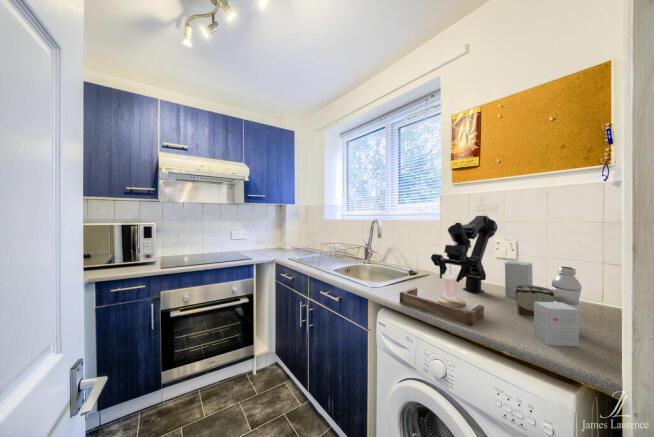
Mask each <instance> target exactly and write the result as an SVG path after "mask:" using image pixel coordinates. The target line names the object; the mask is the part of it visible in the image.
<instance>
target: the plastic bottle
mask: <svg viewBox="0 0 654 437" xmlns="http://www.w3.org/2000/svg"><path fill="white" fill-rule="evenodd" d="M557 270H558V271H557V273H558V275H557V276H555V277H554V278H553V279H552V282H551V287H552V288H551V289H552V290H553V294H554V302H562V303H565V304H567V305H569V306H572V307H574V308H576V309H578V310H579V311H580V309H579V303H580V297H581V292H582V284H581V283H580V281H579V280H578V279H577V277H575V276H576V275H577V272H576V268H575V267H572V266H571V267H570V266H558V269H557ZM581 330H582V322H581V320H580V318H579V333H581Z"/></svg>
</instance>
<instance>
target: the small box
mask: <svg viewBox="0 0 654 437" xmlns="http://www.w3.org/2000/svg"><path fill="white" fill-rule="evenodd" d="M578 309H579V308H578ZM578 309H576V308H574V307H572V306H569V305H567V304H565V303H562V302H534V317H533V336H534V337H536V338H537V340H540V341H541V342H543V343H544V344H545V345H548V346H554V347H555V346H557V347H560V346H561V347H575V348H576V347H579V345H580V332H579V319H580V309H579V310H578Z"/></svg>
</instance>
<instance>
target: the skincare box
mask: <svg viewBox="0 0 654 437" xmlns="http://www.w3.org/2000/svg"><path fill="white" fill-rule="evenodd" d="M533 281H534V280H533V263H531V262H525V261H523V262H522V261H516V260H508V261H506V262H504V282H505V283H504V284H505V285H504V286H505V290H504V291H505V292H504V293H505V296H504V297H505V298H509V299H514V300H516V292H515V293H514V292H513V291H514V288H515V286H516V285H533V286H534V283H533Z"/></svg>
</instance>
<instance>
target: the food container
mask: <svg viewBox="0 0 654 437" xmlns="http://www.w3.org/2000/svg"><path fill="white" fill-rule="evenodd" d="M513 292H514V293H515V292H516V299H515V300H516V301H515V302H516V308H517V309H516V310H517V316H519V317H527V318H528V317H529V318H534V302H554V294H553V289H552V288H548V287H543V286H538V285H534V284H533V285H516V286H515V288H514V291H513Z"/></svg>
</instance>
